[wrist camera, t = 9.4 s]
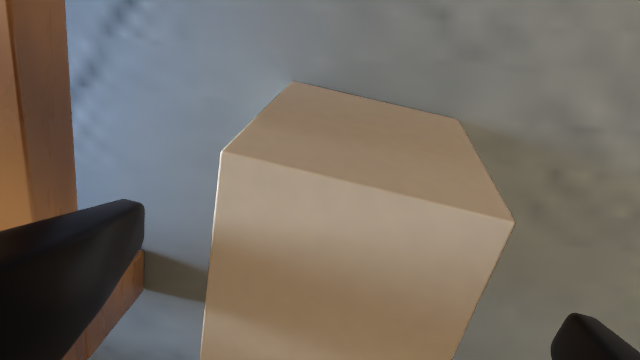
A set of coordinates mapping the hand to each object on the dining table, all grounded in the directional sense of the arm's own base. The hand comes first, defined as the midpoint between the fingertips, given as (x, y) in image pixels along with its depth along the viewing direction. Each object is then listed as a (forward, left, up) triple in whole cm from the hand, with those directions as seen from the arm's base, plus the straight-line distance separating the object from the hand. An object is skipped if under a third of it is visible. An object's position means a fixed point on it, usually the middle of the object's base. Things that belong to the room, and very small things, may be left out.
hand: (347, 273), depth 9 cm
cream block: (0, 0, -5) cm, 5 cm away
